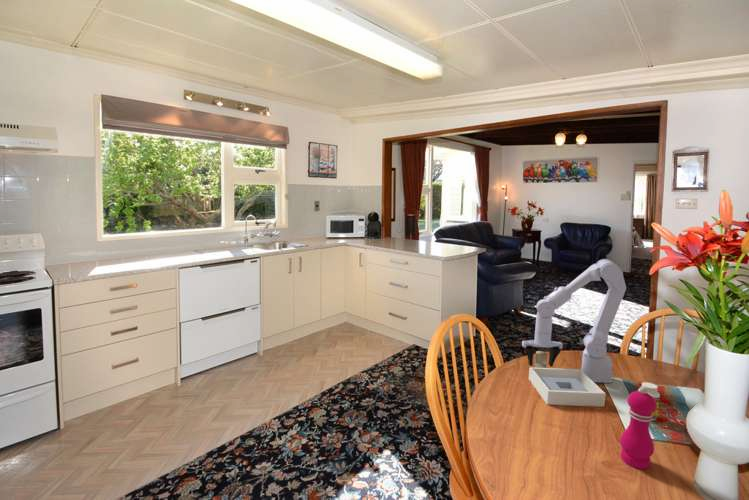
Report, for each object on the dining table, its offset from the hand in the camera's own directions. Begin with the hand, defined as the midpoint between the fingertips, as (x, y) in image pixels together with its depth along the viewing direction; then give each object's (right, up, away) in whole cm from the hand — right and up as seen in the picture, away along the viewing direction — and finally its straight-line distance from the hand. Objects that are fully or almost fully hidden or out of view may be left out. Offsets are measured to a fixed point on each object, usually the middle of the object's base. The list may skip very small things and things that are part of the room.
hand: (540, 365), depth 156 cm
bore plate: (+1, -5, -18) cm, 18 cm away
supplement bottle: (+20, -7, -31) cm, 38 cm away
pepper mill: (+3, -10, -52) cm, 53 cm away
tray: (+1, -5, -17) cm, 17 cm away
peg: (0, -2, 0) cm, 2 cm away
